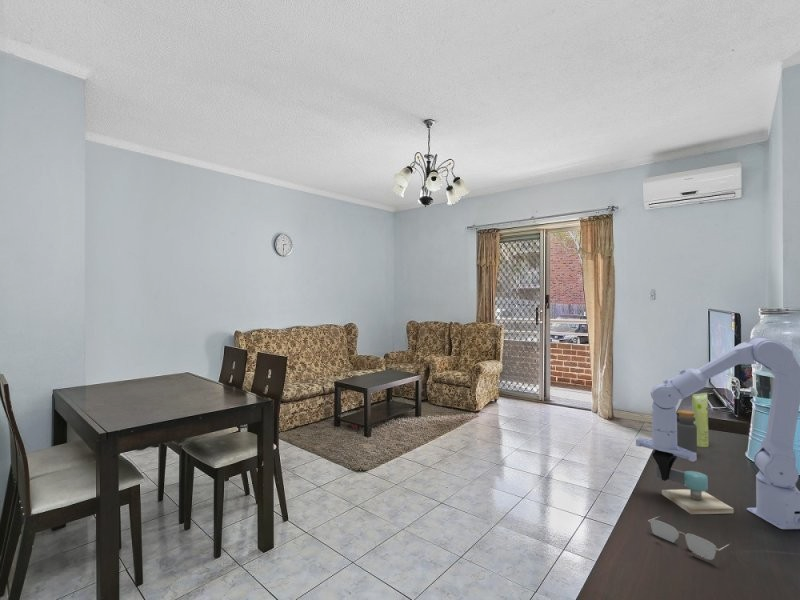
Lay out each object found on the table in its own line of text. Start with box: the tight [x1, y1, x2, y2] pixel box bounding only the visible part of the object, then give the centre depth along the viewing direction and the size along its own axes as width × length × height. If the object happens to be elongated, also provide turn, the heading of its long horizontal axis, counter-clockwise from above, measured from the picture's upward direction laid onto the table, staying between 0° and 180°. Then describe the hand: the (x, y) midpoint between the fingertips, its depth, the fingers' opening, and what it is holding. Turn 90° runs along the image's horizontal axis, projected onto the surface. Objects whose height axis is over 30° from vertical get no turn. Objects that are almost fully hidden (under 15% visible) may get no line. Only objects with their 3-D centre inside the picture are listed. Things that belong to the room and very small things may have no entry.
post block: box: [661, 488, 735, 515], centre depth 110 cm, size 11×11×4 cm
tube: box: [691, 392, 710, 448], centre depth 153 cm, size 6×5×20 cm
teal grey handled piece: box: [656, 464, 709, 492], centre depth 112 cm, size 12×5×3 cm, turn 42°
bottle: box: [677, 409, 698, 454], centre depth 145 cm, size 6×6×15 cm
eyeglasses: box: [647, 515, 733, 561], centre depth 93 cm, size 14×8×4 cm, turn 33°
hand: (665, 479), depth 113 cm, fingers closed, pressing on teal grey handled piece
